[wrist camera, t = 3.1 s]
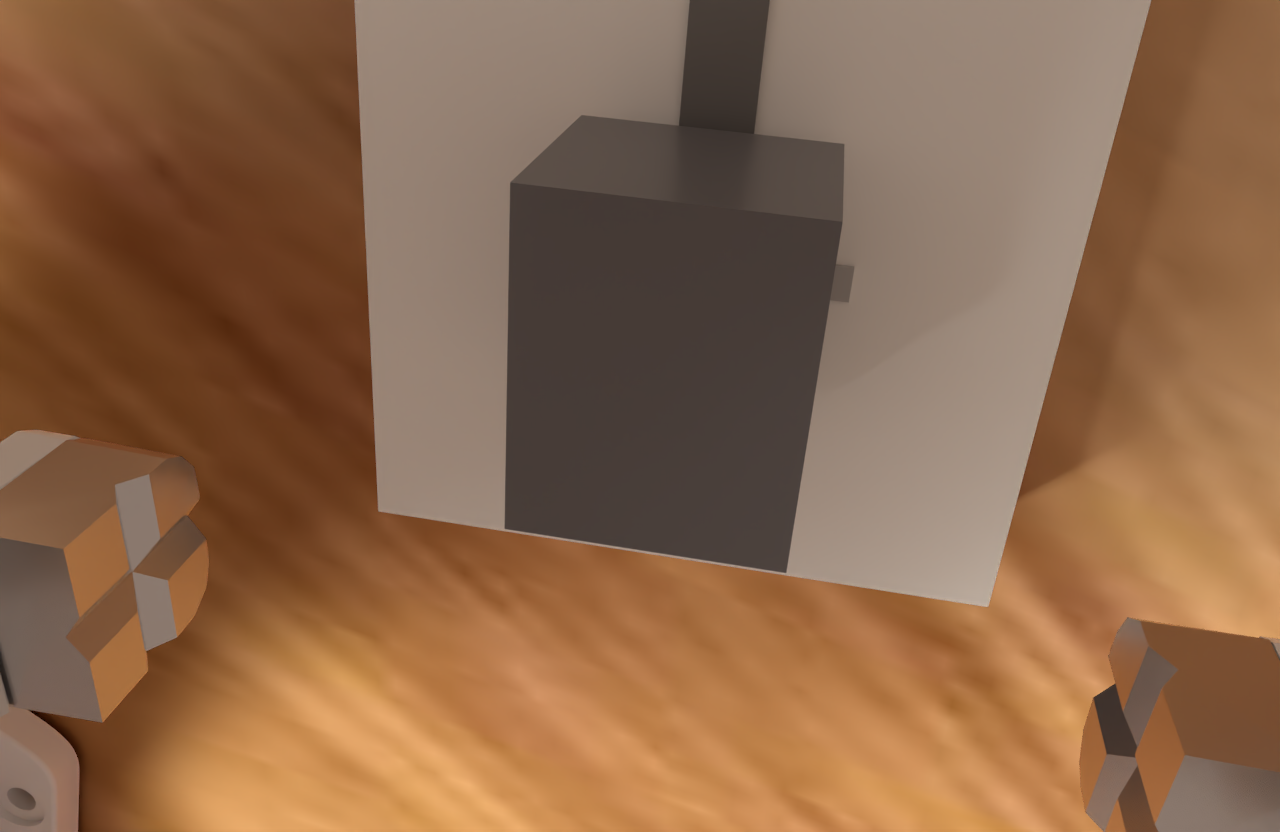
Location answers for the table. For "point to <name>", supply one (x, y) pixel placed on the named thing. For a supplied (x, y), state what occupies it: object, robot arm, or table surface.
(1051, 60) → the slider panel
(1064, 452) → the table surface
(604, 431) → the block
